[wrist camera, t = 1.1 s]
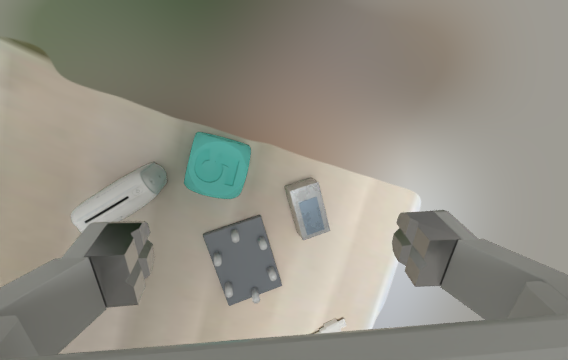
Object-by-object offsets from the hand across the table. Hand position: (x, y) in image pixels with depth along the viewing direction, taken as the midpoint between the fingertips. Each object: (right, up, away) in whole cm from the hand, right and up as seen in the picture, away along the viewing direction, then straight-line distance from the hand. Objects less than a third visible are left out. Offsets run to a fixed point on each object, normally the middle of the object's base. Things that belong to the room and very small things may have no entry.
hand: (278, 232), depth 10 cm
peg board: (-7, -12, +42) cm, 45 cm away
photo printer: (-23, +1, +36) cm, 43 cm away
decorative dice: (-11, +5, +38) cm, 40 cm away
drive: (+4, -3, +43) cm, 43 cm away
